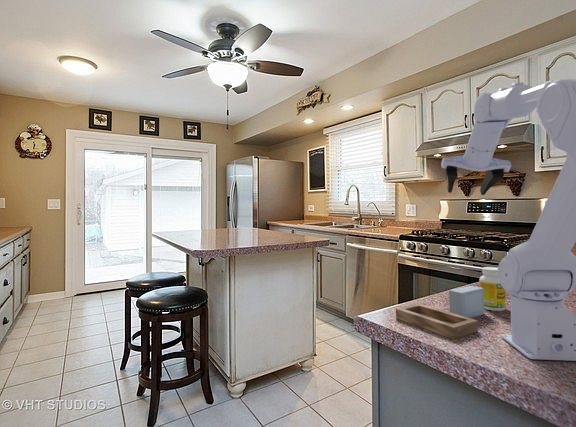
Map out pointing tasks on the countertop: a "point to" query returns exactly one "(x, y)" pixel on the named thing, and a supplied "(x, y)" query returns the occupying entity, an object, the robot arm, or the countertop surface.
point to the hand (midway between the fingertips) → (465, 191)
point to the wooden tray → (437, 320)
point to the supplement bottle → (492, 290)
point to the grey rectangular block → (467, 301)
